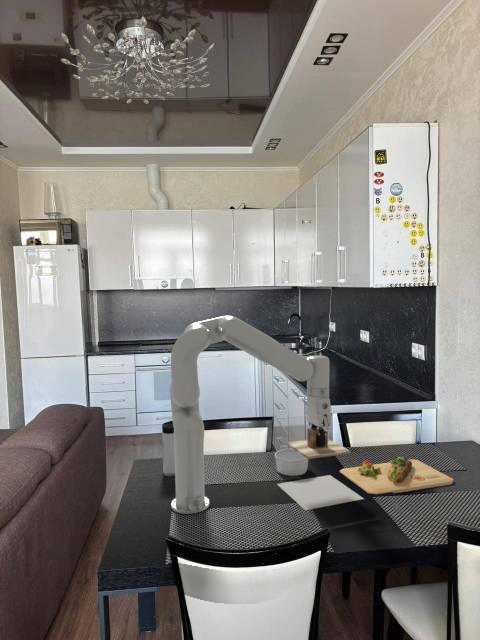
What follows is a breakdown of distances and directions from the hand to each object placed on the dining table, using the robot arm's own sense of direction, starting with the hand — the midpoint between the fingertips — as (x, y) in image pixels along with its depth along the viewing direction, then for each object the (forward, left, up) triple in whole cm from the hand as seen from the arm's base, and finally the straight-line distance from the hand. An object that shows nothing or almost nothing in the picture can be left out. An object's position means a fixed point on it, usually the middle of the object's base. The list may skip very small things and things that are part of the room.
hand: (317, 443), depth 165 cm
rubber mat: (0, 0, -17) cm, 17 cm away
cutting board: (+1, -33, -18) cm, 38 cm away
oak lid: (0, 0, -2) cm, 2 cm away
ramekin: (+21, 0, -18) cm, 27 cm away
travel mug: (+37, +44, -18) cm, 60 cm away
